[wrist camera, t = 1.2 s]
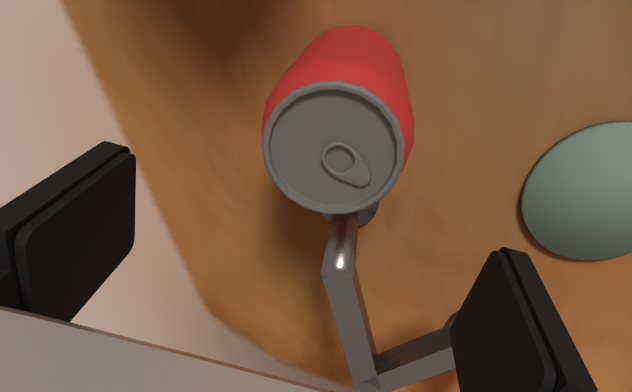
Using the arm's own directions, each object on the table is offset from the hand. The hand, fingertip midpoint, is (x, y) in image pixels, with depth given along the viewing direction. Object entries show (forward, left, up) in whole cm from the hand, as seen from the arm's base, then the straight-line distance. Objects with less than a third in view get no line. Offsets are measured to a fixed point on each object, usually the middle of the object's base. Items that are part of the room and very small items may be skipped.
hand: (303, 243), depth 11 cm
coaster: (-18, +3, -18) cm, 26 cm away
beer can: (0, 0, -18) cm, 18 cm away
